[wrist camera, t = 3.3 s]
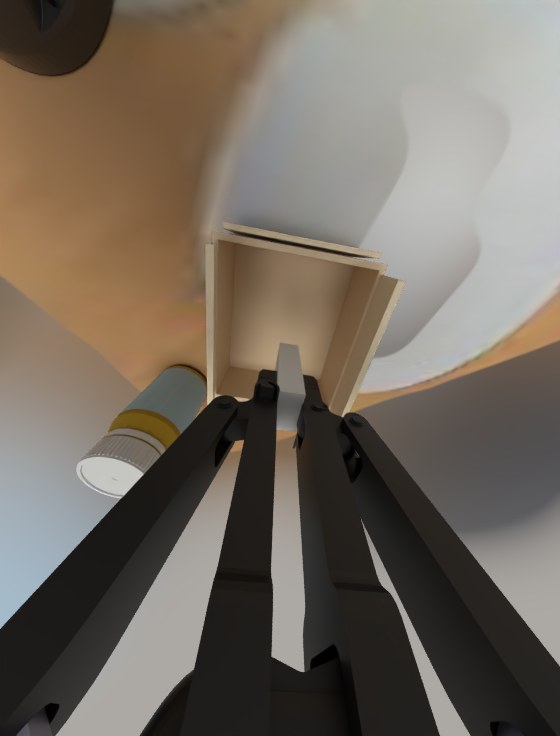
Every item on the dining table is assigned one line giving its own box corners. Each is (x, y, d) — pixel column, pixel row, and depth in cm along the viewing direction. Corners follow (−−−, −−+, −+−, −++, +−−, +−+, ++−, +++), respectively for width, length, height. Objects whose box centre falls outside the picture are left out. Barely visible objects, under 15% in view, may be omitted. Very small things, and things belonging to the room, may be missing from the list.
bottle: (214, 373, 30) (160, 467, 17) (203, 407, 33) (150, 508, 20) (166, 356, 29) (67, 443, 16) (159, 393, 32) (72, 490, 19)
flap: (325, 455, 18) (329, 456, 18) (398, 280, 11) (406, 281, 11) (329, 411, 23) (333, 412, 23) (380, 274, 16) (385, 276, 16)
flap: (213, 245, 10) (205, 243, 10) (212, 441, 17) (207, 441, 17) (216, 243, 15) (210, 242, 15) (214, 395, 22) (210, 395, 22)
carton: (232, 229, 21) (211, 219, 15) (361, 254, 22) (391, 254, 16) (226, 371, 30) (211, 401, 24) (320, 385, 31) (329, 418, 24)
